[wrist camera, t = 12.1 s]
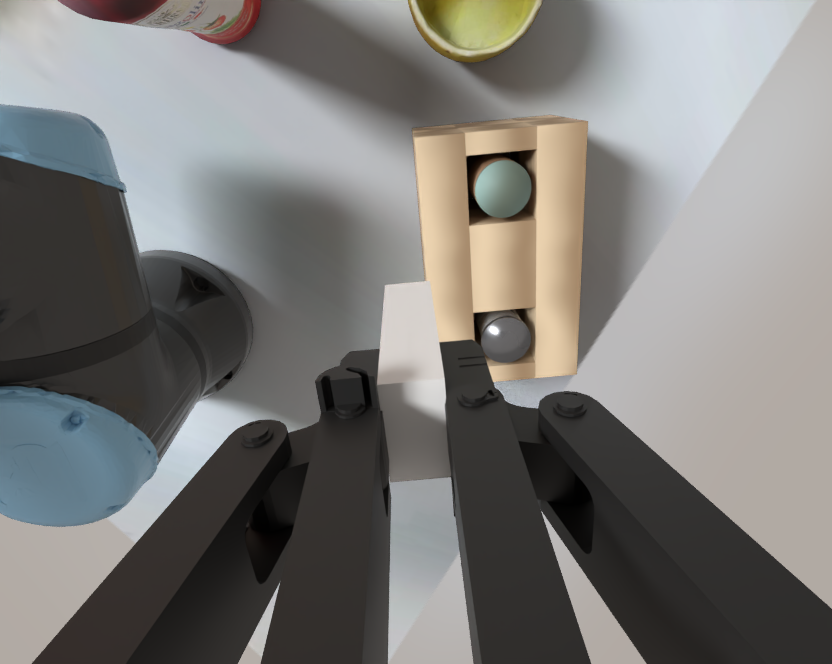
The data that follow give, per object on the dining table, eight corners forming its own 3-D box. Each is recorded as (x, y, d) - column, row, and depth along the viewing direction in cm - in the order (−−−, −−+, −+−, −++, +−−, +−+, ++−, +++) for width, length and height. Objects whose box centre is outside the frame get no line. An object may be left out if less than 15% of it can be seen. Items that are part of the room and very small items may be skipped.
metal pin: (469, 321, 52) (482, 364, 44) (467, 282, 50) (480, 320, 42) (510, 317, 52) (530, 360, 44) (509, 278, 50) (531, 315, 42)
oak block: (429, 336, 54) (435, 386, 45) (411, 128, 46) (414, 137, 37) (546, 326, 54) (576, 374, 45) (550, 115, 46) (587, 121, 37)
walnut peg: (463, 197, 47) (476, 220, 39) (460, 149, 45) (474, 163, 37) (508, 193, 47) (531, 215, 39) (507, 145, 45) (531, 158, 37)
